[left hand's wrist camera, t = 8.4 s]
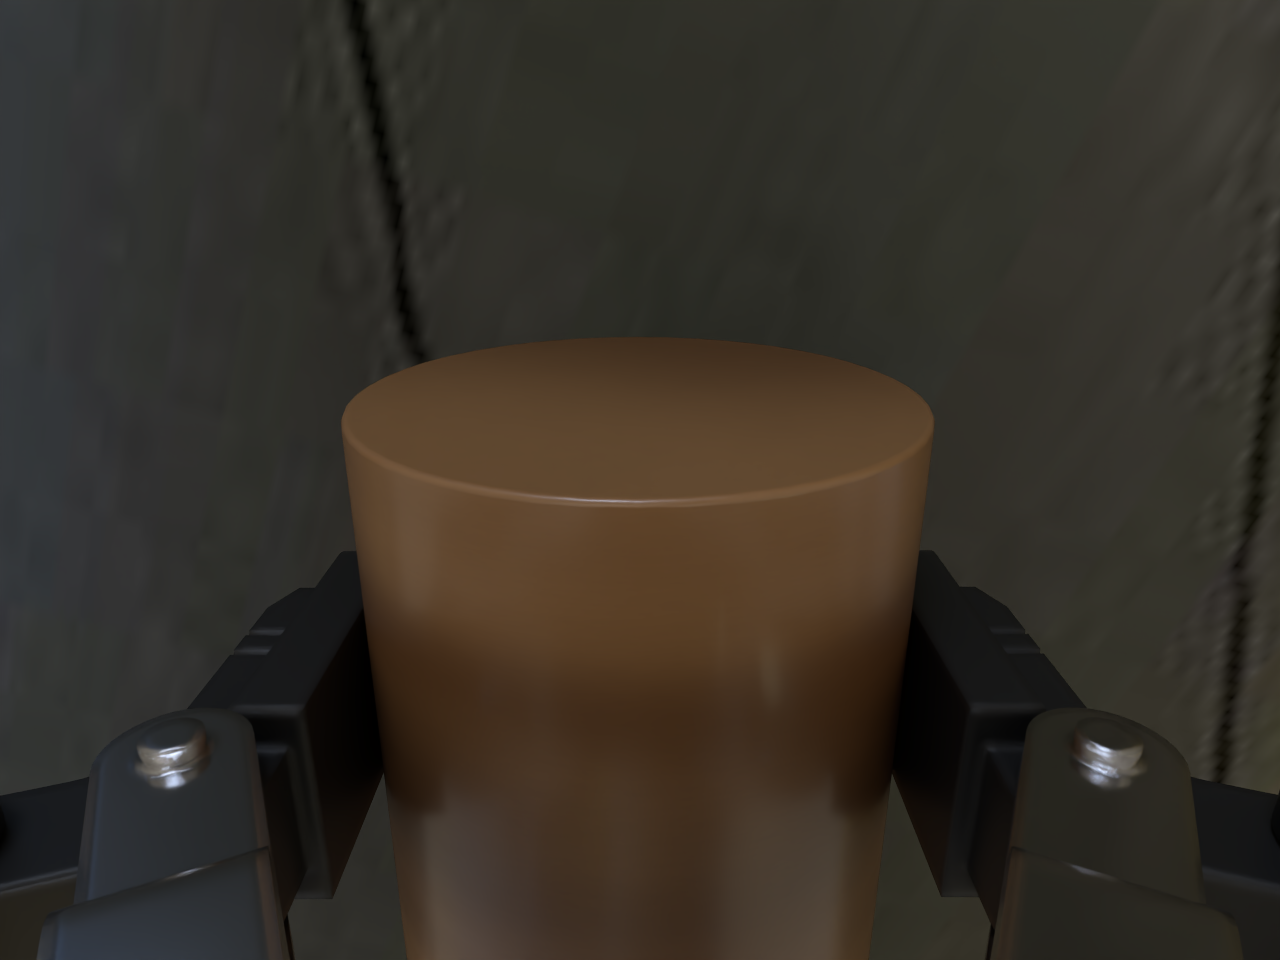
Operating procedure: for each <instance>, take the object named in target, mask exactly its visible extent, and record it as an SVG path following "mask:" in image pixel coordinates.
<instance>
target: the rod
mask: <svg viewBox="0 0 1280 960" xmlns="http://www.w3.org/2000/svg"><path fill="white" fill-rule="evenodd" d="M934 425H935V421H934V417H933V415H932V412H931V409H930V407H929V405H928V404H927V403H926V402H925V401H924V399H923V398H922V397H921V396H920V395H919V394H917V393H916V392H915V391H913V390H912V389H911V388H909V387H908V386H906V385H904V384H902V383H900V382H899V381H897V380H895V379H893V378H891V377H888V376H886V375H884V374H881V373H879V372H876V371H874V370H871V369H869V368H866V367H863V366H859V365H856V364H853V363H850V362H847V361H843V360H839V359H835V358H831V357H828V356H823V355H819V354H814V353H809V352H804V351H799V350H793V349H787V348H781V347H775V346H767V345H760V344H752V343H743V342H733V341H723V340H708V339H693V338H669V337H607V338H582V339H567V340H553V341H543V342H533V343H524V344H516V345H508V346H501V347H495V348H488V349H482V350H476V351H471V352H467V353H462V354H457V355H452V356H448V357H444V358H440V359H436V360H432V361H429V362H425V363H422V364H419V365H416V366H413V367H410V368H407V369H404V370H402V371H399V372H397V373H394V374H392V375H389V376H387V377H385V378H383V379H381V380H379V381H377V382H375V383H373V384H371V385H369V386H368V387H367V388H365V389H364V390H362V391H361V392H360V393H358V394H357V395H356V396H355V397H354V398H353V399H352V400H351V401H350V402H349V404H348V405H347V406H346V409H345V411H344V414H343V416H342V420H341V428H342V437H343V446H344V454H345V462H346V470H347V478H348V486H349V494H350V502H351V510H352V518H353V526H354V534H355V543H356V551H357V559H358V567H359V575H360V583H361V591H362V599H363V607H364V615H365V623H366V631H367V640H368V648H369V656H370V664H371V672H372V680H373V688H374V696H375V704H376V712H377V720H378V728H379V737H380V745H381V753H382V761H383V769H384V777H385V785H386V793H387V801H388V809H389V817H390V825H391V834H392V842H393V850H394V858H395V866H396V874H397V882H398V890H399V898H400V906H401V914H402V922H403V930H404V939H405V947H406V955H407V960H869V953H870V945H871V937H872V929H873V921H874V913H875V904H876V896H877V888H878V880H879V872H880V864H881V856H882V848H883V840H884V832H885V824H886V815H887V807H888V799H889V791H890V783H891V775H892V767H893V759H894V751H895V743H896V735H897V726H898V718H899V710H900V702H901V694H902V686H903V678H904V670H905V662H906V654H907V646H908V637H909V629H910V621H911V613H912V605H913V597H914V589H915V581H916V573H917V565H918V556H919V548H920V540H921V532H922V524H923V516H924V508H925V500H926V492H927V484H928V476H929V467H930V459H931V451H932V443H933V435H934Z"/></svg>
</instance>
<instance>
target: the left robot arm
mask: <svg viewBox="0 0 1280 960" xmlns="http://www.w3.org/2000/svg"><path fill="white" fill-rule="evenodd" d="M249 632H250V633H249V635H246V636H245V637H244V638H243V639H242V641H241V642H240V643H239V645H238V646H237V647H236V648H235V650H234V655H230V656H229V657H228V658H227V660H226V661H225V662H224V663H223V665H222V666H221V667H220V668H219V670H218V671H217V672H216V673H215V675H214V676H213V677H212V678H211V680H210V681H209V682H208V683H207V685H206V686H205V687H204V688H203V690H202V691H201V692H200V693H199V695H198V696H197V697H196V698H195V700H194V701H193V702H192V703H191V705H190V706H189V707H188V708H187V709H186V710H181V711H176V712H172V713H168V714H165V715H161V716H158V717H156V718H153V719H150V720H148V721H145V722H143V723H141V724H139V725H137V726H135V727H133V728H131V729H129V730H128V731H126V732H124V733H123V734H121V735H120V736H118V737H117V738H115V739H114V740H113V741H112V742H110V743H109V744H108V745H107V746H106V747H105V748H104V749H103V750H102V751H101V752H100V754H99V755H98V756H97V757H96V759H95V761H94V763H93V764H92V767H91V771H90V777H87V778H83V779H79V780H75V781H71V782H67V783H62V784H57V785H52V786H47V787H42V788H37V789H32V790H27V791H22V792H17V793H12V794H7V795H2V796H0V960H295V954H294V947H293V941H292V936H291V930H290V925H289V920H288V911H289V909H290V907H291V905H292V903H293V900H294V899H332V898H333V896H334V894H335V891H336V889H337V886H338V884H339V881H340V879H341V876H342V874H343V871H344V869H345V866H346V864H347V861H348V859H349V857H350V854H351V852H352V849H353V847H354V844H355V842H356V839H357V837H358V834H359V832H360V829H361V827H362V824H363V822H364V819H365V817H366V815H367V812H368V810H369V807H370V805H371V802H372V800H373V797H374V795H375V792H376V790H377V787H378V785H379V782H380V780H381V778H382V775H383V773H384V769H383V761H382V753H381V745H380V737H379V728H378V720H377V712H376V704H375V696H374V688H373V680H372V672H371V664H370V656H369V648H368V640H367V631H366V623H365V615H364V607H363V599H362V591H361V583H360V575H359V567H358V559H357V551H343V552H341V553H340V554H339V556H338V557H337V558H336V560H335V561H334V563H333V564H332V565H331V567H330V568H329V569H328V571H327V572H326V574H325V575H324V576H323V578H322V579H321V580H320V582H319V583H318V585H317V586H316V587H315V588H299V589H297V590H296V591H294V592H292V593H291V594H289V595H288V596H286V597H284V598H283V599H281V600H280V601H278V602H276V603H275V604H273V605H271V606H270V607H268V608H267V609H266V611H265V612H264V613H263V614H262V616H261V617H260V618H259V619H258V621H257V622H256V623H255V624H254V626H253V627H252V628H251V629H250V631H249ZM892 774H893V777H894V779H895V782H896V784H897V787H898V789H899V792H900V794H901V797H902V799H903V802H904V804H905V807H906V809H907V812H908V814H909V817H910V819H911V822H912V824H913V827H914V829H915V832H916V834H917V837H918V839H919V842H920V844H921V847H922V849H923V852H924V854H925V857H926V859H927V862H928V865H929V867H930V870H931V872H932V875H933V877H934V880H935V882H936V885H937V887H938V890H939V892H940V895H941V897H979V898H980V900H981V902H982V904H983V907H984V909H985V911H986V913H987V916H988V918H989V920H990V922H991V925H990V930H989V936H988V941H987V947H986V954H985V960H1280V791H1279V794H1278V795H1275V794H1270V793H1265V792H1260V791H1255V790H1250V789H1245V788H1240V787H1235V786H1230V785H1225V784H1220V783H1215V782H1210V781H1206V780H1201V779H1197V778H1193V777H1190V771H1189V768H1188V764H1187V763H1186V761H1185V759H1184V757H1183V756H1182V755H1181V754H1180V752H1179V751H1178V750H1177V749H1176V748H1175V747H1174V746H1173V745H1172V744H1171V743H1170V742H1168V741H1167V740H1166V739H1165V738H1163V737H1162V736H1160V735H1159V734H1157V733H1156V732H1154V731H1152V730H1151V729H1149V728H1147V727H1145V726H1143V725H1141V724H1139V723H1137V722H1135V721H1132V720H1130V719H1127V718H1124V717H1122V716H1119V715H1115V714H1112V713H1108V712H1104V711H1099V710H1094V709H1087V708H1086V707H1085V705H1084V704H1083V703H1082V702H1081V700H1080V699H1079V698H1078V696H1077V695H1076V694H1075V693H1074V691H1073V690H1072V689H1071V688H1070V686H1069V685H1068V684H1067V683H1066V681H1065V680H1064V679H1063V677H1062V676H1061V675H1060V674H1059V672H1058V671H1057V670H1056V669H1055V667H1054V666H1053V665H1052V663H1051V662H1050V661H1049V660H1048V658H1047V657H1046V656H1045V655H1044V654H1040V648H1039V647H1038V646H1037V644H1036V643H1035V642H1034V641H1033V639H1032V638H1031V637H1030V636H1029V634H1025V629H1024V628H1023V627H1022V625H1021V624H1020V623H1019V622H1018V620H1017V619H1016V618H1015V616H1014V615H1013V614H1012V613H1011V611H1010V610H1009V609H1008V608H1007V607H1006V606H1005V605H1003V604H1002V603H1000V602H998V601H997V600H995V599H994V598H992V597H990V596H989V595H987V594H986V593H984V592H982V591H981V590H979V589H978V588H976V587H959V586H958V584H957V583H956V581H955V580H954V579H953V577H952V576H951V574H950V573H949V572H948V570H947V569H946V567H945V566H944V565H943V563H942V562H941V560H940V559H939V558H938V556H937V555H936V554H935V552H933V551H930V550H919V556H918V565H917V573H916V581H915V589H914V597H913V605H912V613H911V621H910V629H909V637H908V646H907V654H906V662H905V670H904V678H903V686H902V694H901V702H900V710H899V718H898V726H897V735H896V743H895V751H894V759H893V767H892Z"/></svg>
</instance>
